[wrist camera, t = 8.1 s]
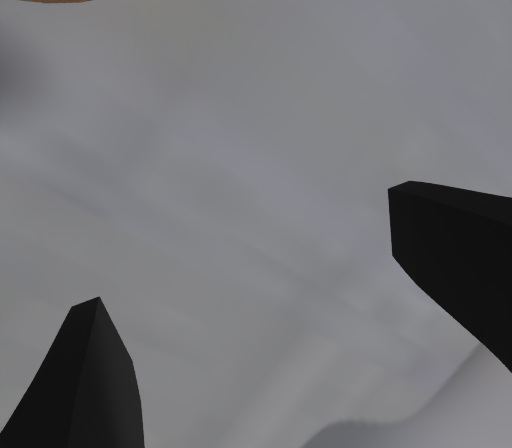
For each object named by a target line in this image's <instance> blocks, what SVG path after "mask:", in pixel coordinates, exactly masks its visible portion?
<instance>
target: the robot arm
mask: <svg viewBox="0 0 512 448" xmlns="http://www.w3.org/2000/svg"><path fill="white" fill-rule="evenodd" d="M388 199H389V213H390V228H391V242H392V256H393V257H394V258H395V260H396V261H397V262H398V263H399V265H400V266H401V267H402V268H403V269H404V271H405V272H406V273H407V274H408V275H409V277H410V278H411V279H412V280H413V281H414V282H415V283H416V284H417V285H418V286H419V287H420V288H421V289H422V290H423V291H424V292H425V293H426V294H427V295H428V296H430V297H431V298H432V299H433V300H434V301H435V302H436V303H437V304H438V305H440V306H441V307H442V308H443V309H444V310H445V311H446V312H447V313H449V314H450V315H451V316H452V317H453V318H454V319H455V320H457V321H458V322H459V323H460V324H461V325H462V326H463V327H464V328H466V329H467V330H468V331H469V332H470V333H471V334H472V335H473V336H475V337H476V338H477V339H478V340H479V341H480V342H481V343H483V344H484V345H485V346H486V347H487V348H488V349H489V350H490V351H491V352H492V353H493V354H494V355H495V356H496V357H497V358H499V360H500V361H501V362H502V363H503V364H504V365H505V366H506V367H507V368H508V369H509V371H510V372H511V373H512V198H510V197H504V196H498V195H493V194H487V193H482V192H476V191H471V190H466V189H460V188H455V187H449V186H444V185H438V184H432V183H425V182H417V181H408V182H405V183H402V184H400V185H397V186H394V187H392V188H389V189H388ZM0 448H145V446H144V433H143V421H142V409H141V400H140V395H139V390H138V385H137V380H136V375H135V371H134V366H133V362H132V359H131V357H130V355H129V353H128V351H127V349H126V348H125V346H124V344H123V342H122V340H121V338H120V336H119V334H118V332H117V330H116V328H115V326H114V324H113V322H112V320H111V318H110V316H109V314H108V312H107V310H106V308H105V306H104V304H103V302H102V300H101V298H100V296H99V297H96V298H94V299H91V300H88V301H86V302H83V303H80V304H78V305H75V306H72V307H71V309H70V311H69V313H68V314H67V316H66V318H65V320H64V322H63V324H62V326H61V328H60V330H59V332H58V334H57V336H56V338H55V340H54V342H53V343H52V345H51V347H50V349H49V351H48V353H47V355H46V357H45V359H44V361H43V362H42V364H41V366H40V368H39V370H38V372H37V374H36V375H35V377H34V379H33V381H32V383H31V384H30V386H29V388H28V389H27V391H26V393H25V394H24V396H23V398H22V399H21V401H20V403H19V404H18V406H17V407H16V409H15V411H14V412H13V414H12V416H11V417H10V419H9V421H8V422H7V424H6V425H5V427H4V428H3V430H2V432H1V433H0Z"/></svg>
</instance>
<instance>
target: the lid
mask: <svg viewBox="0 0 512 448" xmlns="http://www.w3.org/2000/svg"><path fill="white" fill-rule="evenodd" d="M22 1H32V2H41V3H76V2H85V1H91V0H22Z"/></svg>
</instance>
